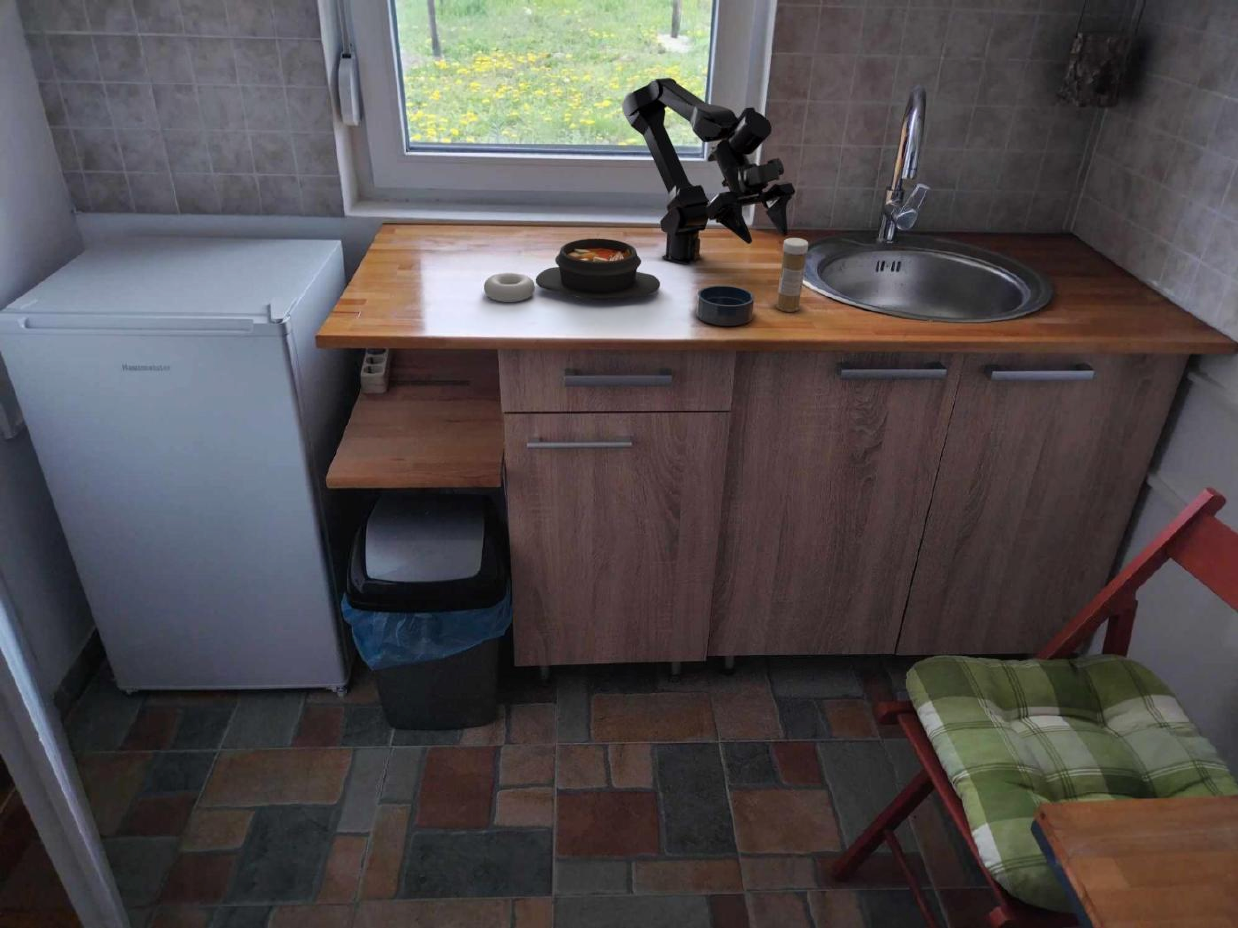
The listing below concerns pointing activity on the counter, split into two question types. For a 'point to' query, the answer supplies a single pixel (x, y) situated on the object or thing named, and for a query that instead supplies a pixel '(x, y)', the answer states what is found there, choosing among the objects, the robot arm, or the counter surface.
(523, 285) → the donut
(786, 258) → the sprinkles bottle
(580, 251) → the casserole
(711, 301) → the bowl
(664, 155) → the robot arm
